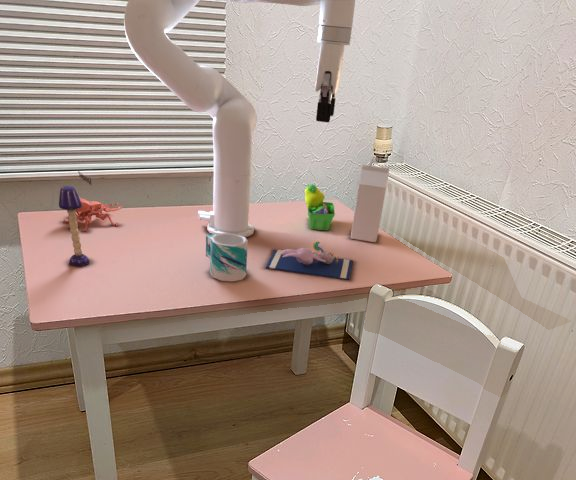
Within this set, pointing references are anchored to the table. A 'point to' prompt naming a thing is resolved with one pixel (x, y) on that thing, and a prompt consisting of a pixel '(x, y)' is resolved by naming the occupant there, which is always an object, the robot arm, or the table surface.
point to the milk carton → (369, 203)
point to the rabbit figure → (310, 255)
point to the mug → (227, 256)
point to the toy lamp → (73, 222)
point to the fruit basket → (318, 209)
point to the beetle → (92, 210)
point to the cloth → (311, 266)
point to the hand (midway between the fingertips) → (324, 118)
